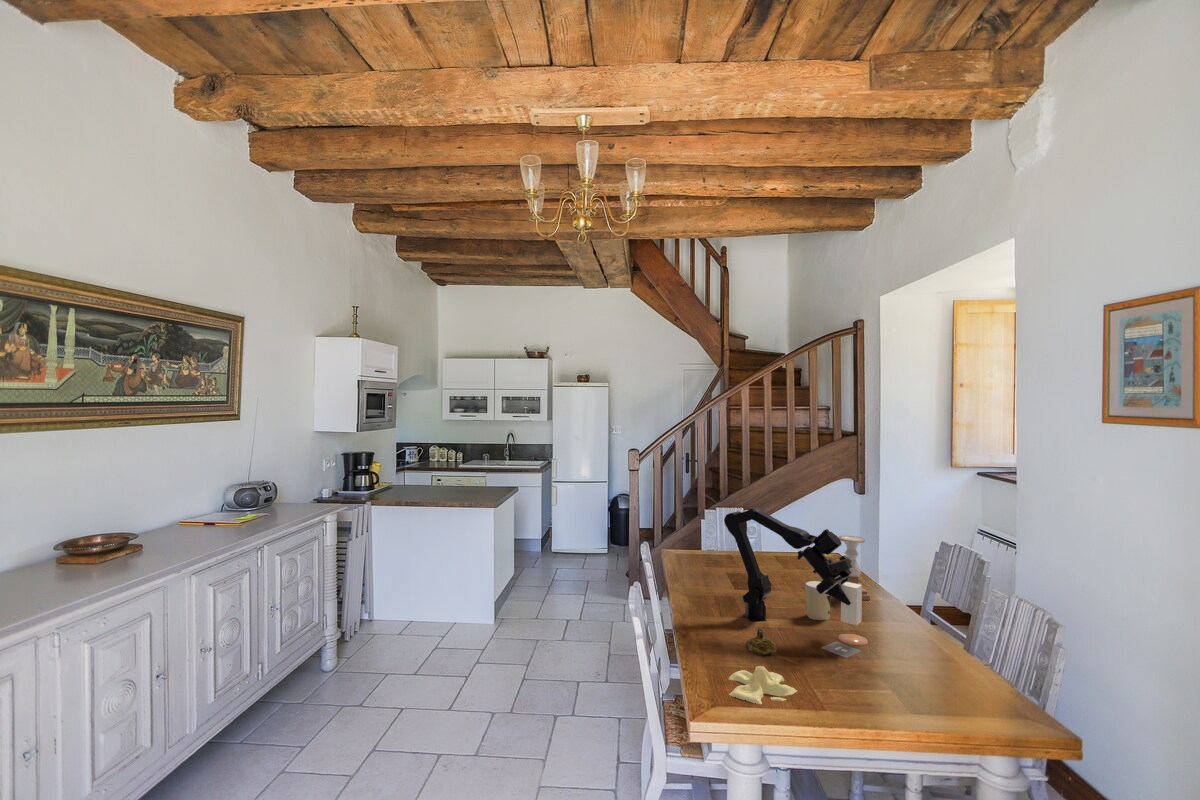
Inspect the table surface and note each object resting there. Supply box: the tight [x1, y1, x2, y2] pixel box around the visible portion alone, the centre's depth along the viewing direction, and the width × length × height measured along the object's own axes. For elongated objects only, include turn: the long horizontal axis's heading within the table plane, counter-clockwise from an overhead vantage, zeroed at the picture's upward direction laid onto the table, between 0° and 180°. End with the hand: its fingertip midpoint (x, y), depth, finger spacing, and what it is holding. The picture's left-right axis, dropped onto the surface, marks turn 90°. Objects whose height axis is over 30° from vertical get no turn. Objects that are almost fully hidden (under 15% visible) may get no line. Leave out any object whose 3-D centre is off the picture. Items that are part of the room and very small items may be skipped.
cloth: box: [728, 665, 798, 705], centre depth 158 cm, size 22×19×6 cm
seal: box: [746, 627, 778, 657], centre depth 185 cm, size 9×5×15 cm
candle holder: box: [838, 535, 871, 601], centre depth 239 cm, size 11×11×24 cm
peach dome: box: [838, 633, 869, 646], centre depth 191 cm, size 9×9×1 cm
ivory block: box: [840, 582, 863, 626], centre depth 189 cm, size 5×5×12 cm
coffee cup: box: [804, 580, 832, 621], centre depth 213 cm, size 9×9×12 cm
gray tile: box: [820, 641, 862, 659], centre depth 183 cm, size 9×9×1 cm
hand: (852, 602), depth 189 cm, fingers closed on ivory block, 5 cm apart
